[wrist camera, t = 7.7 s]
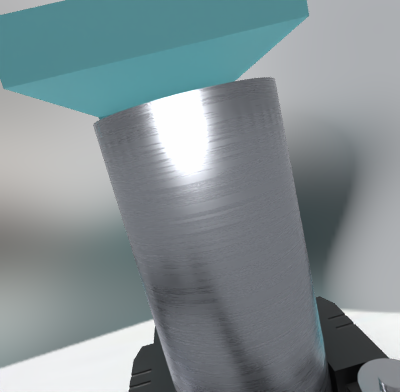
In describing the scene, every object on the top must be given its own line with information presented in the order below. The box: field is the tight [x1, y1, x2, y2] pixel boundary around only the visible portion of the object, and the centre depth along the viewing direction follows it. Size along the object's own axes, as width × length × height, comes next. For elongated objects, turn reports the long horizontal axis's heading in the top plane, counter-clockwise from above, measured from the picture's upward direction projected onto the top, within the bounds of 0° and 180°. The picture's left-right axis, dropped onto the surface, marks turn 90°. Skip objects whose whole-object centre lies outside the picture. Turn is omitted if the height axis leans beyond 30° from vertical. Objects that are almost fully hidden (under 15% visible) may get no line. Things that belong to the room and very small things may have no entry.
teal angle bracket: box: [0, 0, 309, 120], centre depth 19 cm, size 10×15×28 cm, turn 6°
